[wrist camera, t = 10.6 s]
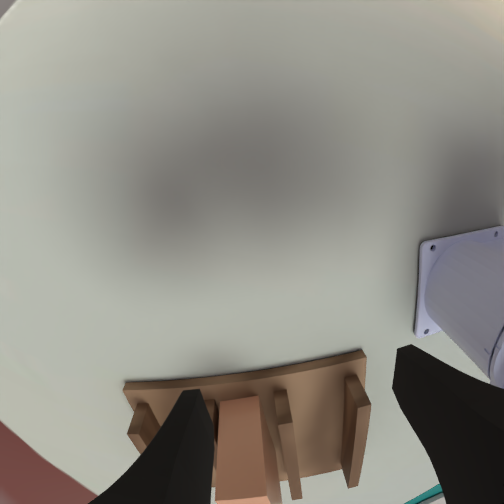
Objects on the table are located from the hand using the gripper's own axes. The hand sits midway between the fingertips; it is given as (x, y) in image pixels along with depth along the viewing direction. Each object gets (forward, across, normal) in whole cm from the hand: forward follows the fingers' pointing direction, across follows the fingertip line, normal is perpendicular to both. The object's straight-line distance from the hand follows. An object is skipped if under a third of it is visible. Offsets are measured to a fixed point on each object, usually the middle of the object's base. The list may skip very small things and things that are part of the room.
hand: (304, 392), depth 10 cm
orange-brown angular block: (+9, +4, +13) cm, 16 cm away
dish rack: (+10, +3, +15) cm, 19 cm away
